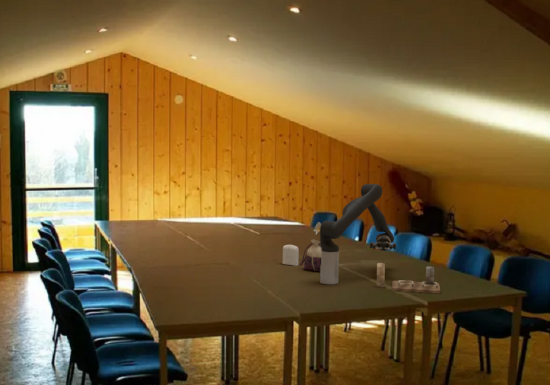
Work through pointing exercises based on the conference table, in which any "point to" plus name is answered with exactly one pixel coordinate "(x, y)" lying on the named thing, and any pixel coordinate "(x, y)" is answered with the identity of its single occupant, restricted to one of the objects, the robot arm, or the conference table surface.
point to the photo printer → (290, 255)
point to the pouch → (312, 256)
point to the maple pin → (380, 274)
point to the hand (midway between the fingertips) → (382, 247)
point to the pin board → (418, 284)
